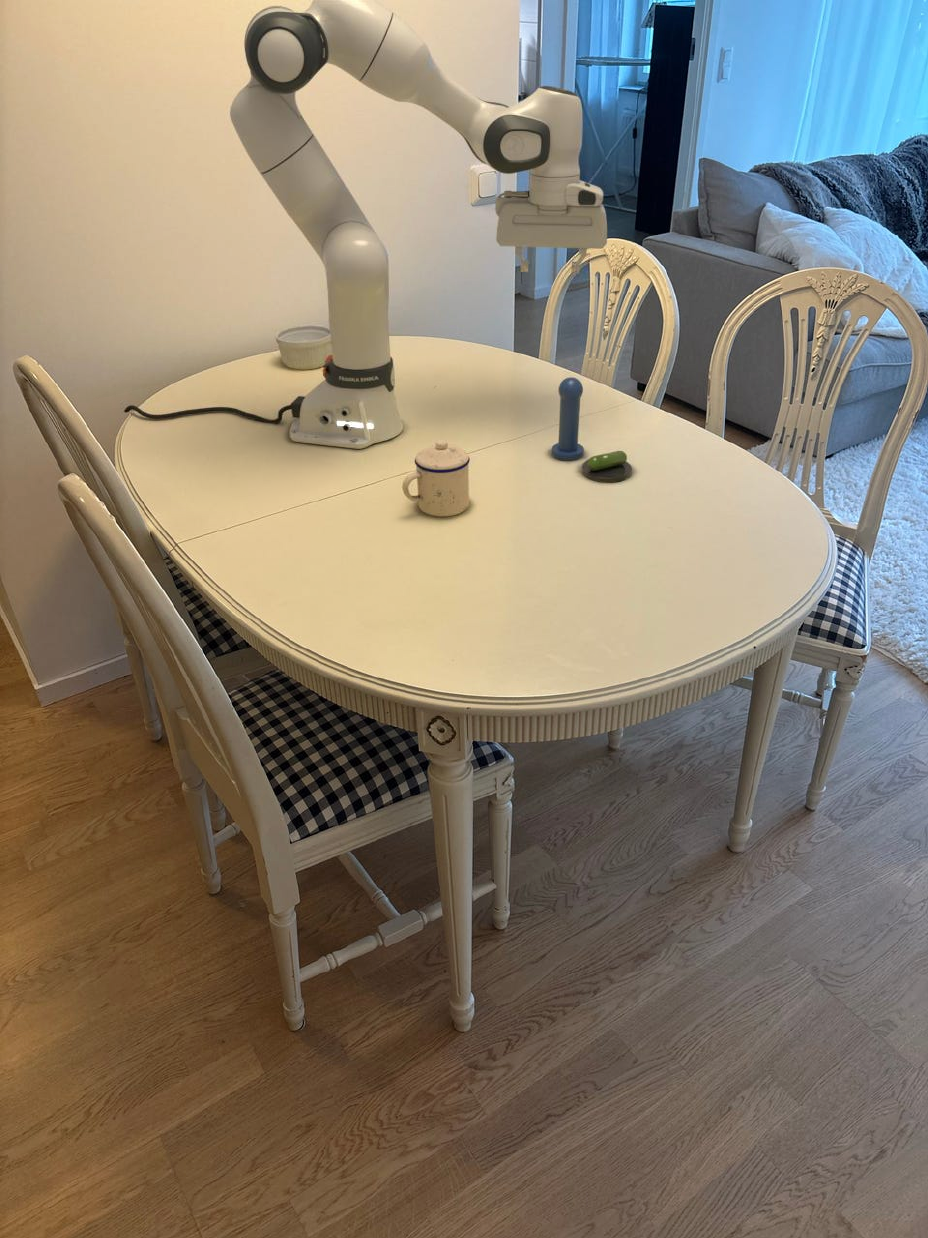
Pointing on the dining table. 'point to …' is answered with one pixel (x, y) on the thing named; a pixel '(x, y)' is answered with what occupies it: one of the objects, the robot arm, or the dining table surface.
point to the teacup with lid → (441, 480)
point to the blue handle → (569, 421)
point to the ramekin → (304, 346)
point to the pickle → (607, 467)
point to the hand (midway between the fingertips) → (549, 271)
